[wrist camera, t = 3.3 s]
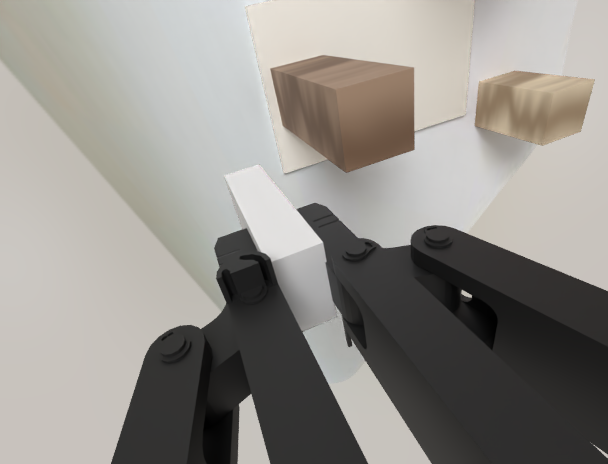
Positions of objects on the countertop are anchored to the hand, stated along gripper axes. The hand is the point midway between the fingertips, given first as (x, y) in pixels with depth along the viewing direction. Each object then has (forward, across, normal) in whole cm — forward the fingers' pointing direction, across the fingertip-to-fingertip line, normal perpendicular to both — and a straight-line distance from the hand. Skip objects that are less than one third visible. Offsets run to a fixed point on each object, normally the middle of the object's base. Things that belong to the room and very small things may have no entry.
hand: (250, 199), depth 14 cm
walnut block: (+15, +8, 0) cm, 17 cm away
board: (+16, +15, 0) cm, 22 cm away
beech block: (+16, +29, -6) cm, 34 cm away
